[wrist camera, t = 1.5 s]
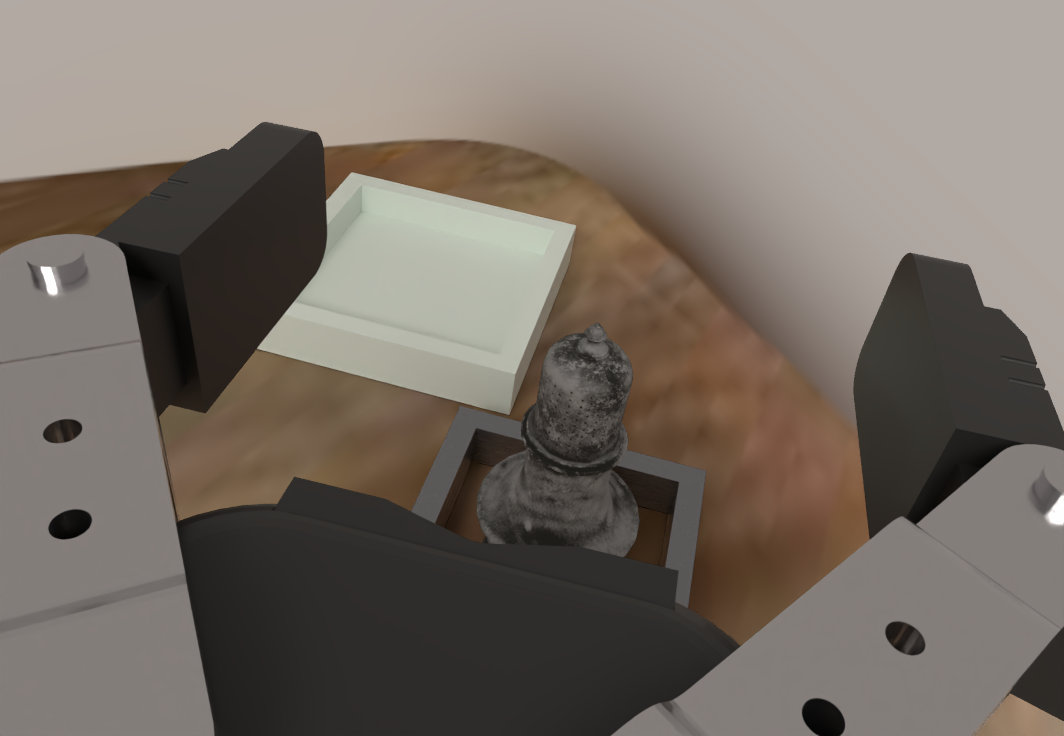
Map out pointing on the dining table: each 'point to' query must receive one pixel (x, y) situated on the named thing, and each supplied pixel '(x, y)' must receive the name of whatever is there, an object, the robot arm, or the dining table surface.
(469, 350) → the tray
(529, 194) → the dining table surface
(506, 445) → the holder
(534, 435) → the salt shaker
